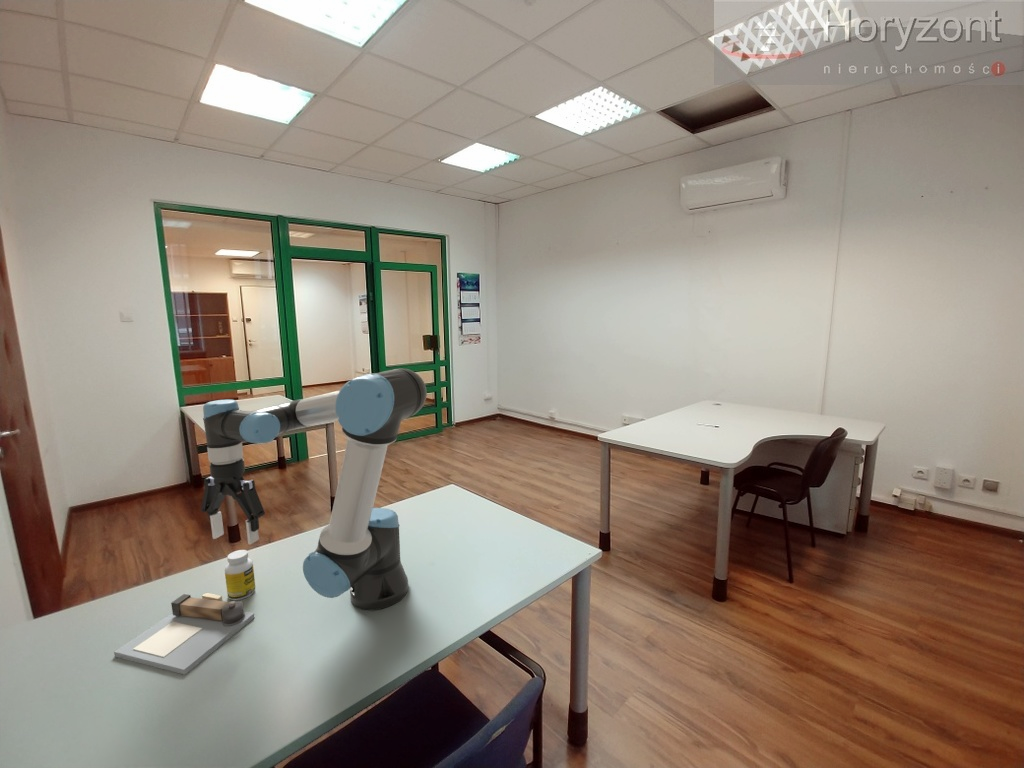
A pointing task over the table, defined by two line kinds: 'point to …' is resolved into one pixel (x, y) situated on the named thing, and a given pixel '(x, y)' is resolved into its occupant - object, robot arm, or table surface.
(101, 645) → the table surface
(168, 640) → the board
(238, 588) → the pill bottle
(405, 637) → the table surface
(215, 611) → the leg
